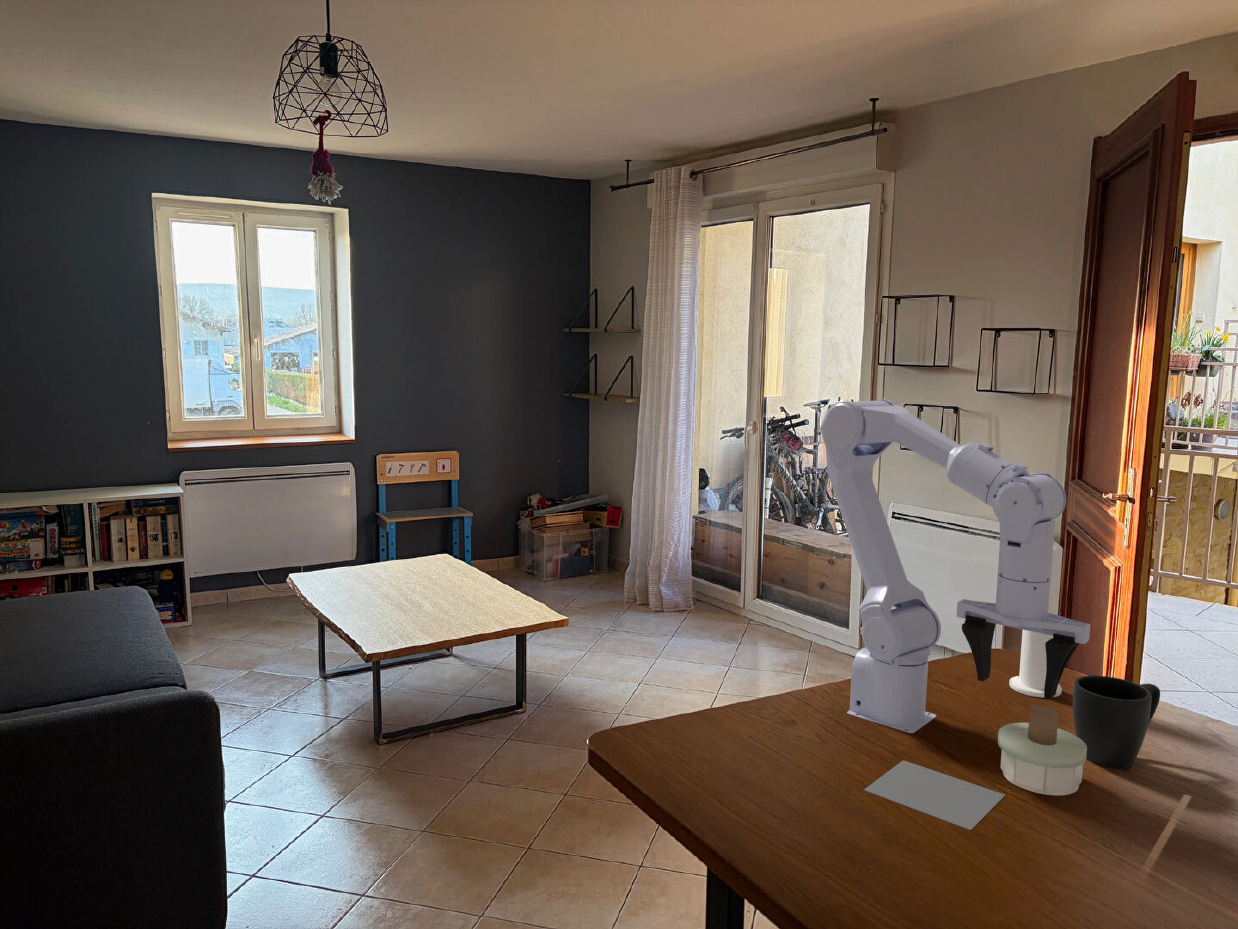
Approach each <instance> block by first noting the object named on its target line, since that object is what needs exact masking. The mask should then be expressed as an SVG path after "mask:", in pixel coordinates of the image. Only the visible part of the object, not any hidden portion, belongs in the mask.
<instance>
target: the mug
mask: <svg viewBox="0 0 1238 929" xmlns="http://www.w3.org/2000/svg"><path fill="white" fill-rule="evenodd" d="M1072 695H1073V696H1072V718H1073V719H1072V720H1073V724H1074V725H1073V726H1074V731H1075V736H1077V737H1078V738H1080V739H1081V740H1082V741H1083V742H1084V743H1085V744H1086V746H1087V754H1086V761H1088V762H1090V763H1093V764H1095V765H1098V766H1102V767H1104V768H1105V767H1106V768H1110V769H1118V770H1121V771H1124V772H1129V771H1130V770H1132V769H1133V765H1134V762H1135V761H1136V758H1137V757H1138V755H1139V752H1140V751H1141V748H1142V745H1143V743H1144V741H1145V737H1146V734H1147V731H1148V728H1149V725H1150V723H1151V721H1152V719H1153V717H1154V715H1155V713H1156V711H1157V708H1158V706H1159V703H1160V698H1161V690H1160V687H1158V686H1157V685H1155V684H1153V683H1142V684H1138V683H1135V682H1132V681H1131V680H1127V679H1123V678H1118V677H1113V676H1106V675H1083V676H1079V677H1077V678H1076V679H1075V680H1074V682H1073V694H1072Z"/></svg>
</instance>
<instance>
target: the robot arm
mask: <svg viewBox="0 0 1238 929" xmlns="http://www.w3.org/2000/svg"><path fill="white" fill-rule="evenodd" d="M819 431H820V432H821V435H822V438H823V442H824V444H825V448H826V471H827V476H828V479H829V481H830V482H829V483H830V484H831V487H832V491H833V493H834V496H835V499H836V503H837V506H838V508H839V510H840V514H841V517H842V520H843V523H844V527H845V528H846V533H847V535H848V537H849V538H848V539H849V541H850V544H851V546H852V550H853V554H854V555H855V559H856V561H857V565H858V568H859V570H860V574H861V577H862V579H863V582H864V583H863V584H864V586H865V588H866V594H865V596H864V598H863V600H862V602H861V603H860V606H859V608H858V612H859V615H860V618H861V619H860V620H861V624H862V625H861V638H862V642H863V644H864V647H863V648H861V649H860V650H859V651H858V652H857V653H856V655H855V657H854V658H853V659H854V660H853V663H852V667H851V675H850V692H849V693H850V697H849V710H848V711H847V712H846V713H847V714H848V715H851V716H855V717H858V718H861V719H864V720H866V721H869V722H873V723H877V724H880V725H883V726H886V727H888V728H889V727H890V728H892V729H896V730H899V731H901V732H905V733H908V734H914V733H915V732H917V731H918V730H920V729H921V728H922V727H924V726H926V725H927V724H928V723H929V722H931V721H932V720H934V719H935V718H937V715H936V714H935V713H932V712H928V711H926V707H927V706H926V704H927V685H928V670H929V656H931V648H932V647H933V646H935V645H936V644H937V642H938V641H939V640H940V637H941V634H942V625H941V621H940V618H939V616H938V614H937V612H936V611H935V610H934V609H933V608H932V607H931V606H930V605H929V603H928V601H927V599H926V597H925V594H924V592H923V590H921V589H920V588H919V587H917V586H915V585H914V584H913V583H912V582H910V581H909V580H908V578H907V576H906V572H905V569H904V566H903V564H902V561H901V559H900V558H901V557H900V555H899V552H898V550H897V547H896V543H895V541H894V538H893V535H892V532H891V530H890V527H889V524H888V523H889V522H888V521H887V518H886V515H885V512H884V510H883V506H882V503H881V501H880V498H879V495H878V492H877V489H876V486H875V484H874V480H873V478H872V475H871V471H872V469H873V467H874V465H875V463H876V462H877V460H879V458H880V457H881V456H882V455H883V453H884V452H885V451H886V450H887V449H888V448H889V447H890V446H891V445H892V444H893V443H897V444H899V445H900V446H901V447H904V448H905V449H907V450H910V451H912V452H914V453H915V454H918V455H920V456H922V457H923V458H925V459H927V460H929V461H931V462H933V463H935V464H938V465H939V466H940V467H943V468H945V470H946V476H947V479H948V481H949V482H950V483H951V484H953V485H954V486H956V487H958V488H960V489H962V490H963V491H965V492H966V493H968V494H970V495H971V496H973V497H974V498H977V499H978V500H980V501H981V502H983V503H984V504H986V505H988V506H989V507H991V508H992V510H993V513H994V515H995V517H996V518H997V520H998V522H999V548H998V549H999V551H998V562H997V563H998V564H997V576H996V577H997V578H996V592H995V602H987V601H978V600H970V599H964V598H963V599H961V600H959V601H957V602H956V604H957V605H956V618H959V619H964V623H962V624H961V630H962V634H963V635H964V637H965V639H966V641H967V643H968V645H969V648H970V651H971V654H972V657H973V661H974V664H975V670H976V678H977V680H978V681H980V682H985V681H986V680H987V679H990V676H991V669H992V667H991V666H992V648H993V647H992V646H993V640H994V636H995V635H994V633H995V631H996V626H997V625H1000V626H1004V627H1009V628H1014V629H1019V630H1022V631H1023V630H1028V631H1032V632H1037V633H1042V634H1046V635H1051V636H1053V638H1052V639H1050V640H1048V641H1047V642H1046V643H1045V648H1046V679H1045V687H1044V697H1045V698H1044V699H1050V700H1052V698H1055V697H1054V696H1055V695H1056V691H1057V687H1058V684H1059V685H1060V681H1061V677H1062V675H1063V673H1064V671H1065V669H1066V667H1067V665H1068V663H1069V662H1070V660H1071V658H1072V656H1073V654H1074V652H1076V649H1077V648H1078V647H1079V645H1080V644H1081V645H1085V644H1086V643H1088V642H1089V641H1090V636H1091V624H1090V623H1087V622H1082V621H1078V620H1074V619H1070V618H1067V617H1064V616H1061V615H1059V614H1058V615H1055V614H1051V613H1048V610H1049V597H1050V584H1051V571H1052V558H1053V545H1054V541H1055V540H1054V539H1055V531H1056V530H1055V528H1056V527H1055V526H1056V519H1057V518H1058V517H1060V516H1061V515H1062V514H1063V512H1064V510H1065V508H1066V505H1067V504H1066V503H1067V495H1066V491H1065V489H1064V487H1063V485H1062V484H1061V483H1060V482H1059V480H1057V479H1056V478H1055V477H1053V476H1052V475H1051V474H1050V473H1048V472H1035V473H1034V472H1033V473H1029V471H1028V466H1027V465H1025V464H1024V463H1022V462H1020V463H1019V462H1018V463H1014V462H1012V461H1010V460H1008V459H1006V458H1005V457H1003V456H1001V455H1000V454H998V453H996V452H994V451H993V450H994V448H995V447H994V446H993V445H991V444H990V443H988V442H981V443H980V442H979V443H977V442H969V443H966V444H964V445H961V444H959V443H958V442H957V441H956V440H953V439H952V438H950V437H948V436H947V435H945V434H943V433H942V432H940V431H939V430H937V429H936V428H934V427H933V426H931V425H929V424H928V423H926V422H924V421H923V420H921V419H920V418H918V417H917V416H915V415H913V414H912V413H911V412H909V410H908V409H907V408H906V407H905V406H902V405H899V404H895V402H893V401H891V400H889V399H884V398H882V399H877V400H861V401H858V400H857V401H850V400H839V401H836V402H835V403H833V404H832V405H831V406H830V407H829V408H828V410H827V411H826V414H825V415H824V419H823V420H822V423H821V424H820V427H819ZM893 607H894V609H893Z"/></svg>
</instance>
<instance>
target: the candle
mask: <svg viewBox="0 0 1238 929" xmlns="http://www.w3.org/2000/svg"><path fill="white" fill-rule="evenodd" d="M1063 552H1064V549H1063V547H1062V546H1061V545H1060V544H1059V543H1058V542H1056V541H1055V540H1054V545H1053V558H1052V571H1051V584H1050V597H1049V610H1048V613H1051V614H1055V615H1058V616H1059V605H1060V603H1059V602H1060V592H1061V576H1062V564H1063ZM1052 638H1053V636H1051V635H1046V634H1042V633H1037V632H1032V631H1028V630H1023V629H1022V633H1021V645H1020V646H1021V648H1020V663H1019V675H1017V676H1012V677H1011V678H1010V679H1009V684H1008V685H1009V686H1010V688H1011V689H1012V690H1014V691H1015V692H1017V693H1020V694H1023V695H1025V696H1030V697H1034V698H1043V699H1046V698H1045V697H1044V687H1045V679H1046V648H1045V643H1046V642H1047V641H1048V640H1050V639H1052ZM1062 693H1063V688H1062V686H1061V685H1060V683H1059V684H1058V687H1057V691H1056V695H1055V696H1054V697H1053V698H1056V697H1059V696H1061V695H1062Z"/></svg>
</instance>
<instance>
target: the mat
mask: <svg viewBox="0 0 1238 929" xmlns="http://www.w3.org/2000/svg"><path fill="white" fill-rule="evenodd" d="M863 791H864V792H866V793H870V794H872V795H875V796H878V797H881V798H883V799H886V800H889V801H891V802H894V803H896V804H899V805H902V806H905V807H907V808H910V809H913V810H915V811H917V812H920V813H923V814H926V815H928V816H931V817H934V818H936V819H939V820H942V821H944V822H948V823H950V824H953V825H955V826H958V827H961V828H963V829H966V830H968V831H972V830H974V828H975V827H976V826H977V825H978V824H979V822H981V821H982V820H983V819H984V818H985V817H986V816H987V815H988V814H989V813H990V812H991V811H992V810H993V809H994V807H995V806H997V804H999V803H1000V801H1002V799H1003V798H1005V797H1006V794H1004V793H1000V792H999V791H995V790H993V789H989V788H986V787H984V786H980V785H977V784H975V783H972V782H969V781H966V780H962V779H960V778H957V777H954V776H951V775H948V774H945V773H942V772H940V771H936V770H935V769H930V768H928V767H924V766H921V765H918V764H915V763H912V762H909V761H906V760H904V759H903V760H902V761H900V762H898V764H896V765H894V766H893V767H892V768H891V769H890V770H888V771H887V772H885V773H884V774H883V775H882V776H880V777H878V778H877V779H876V780H875V781H874V782H872V783H871V784H870V785H868V786H867V787H866V788H865V789H863Z"/></svg>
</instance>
